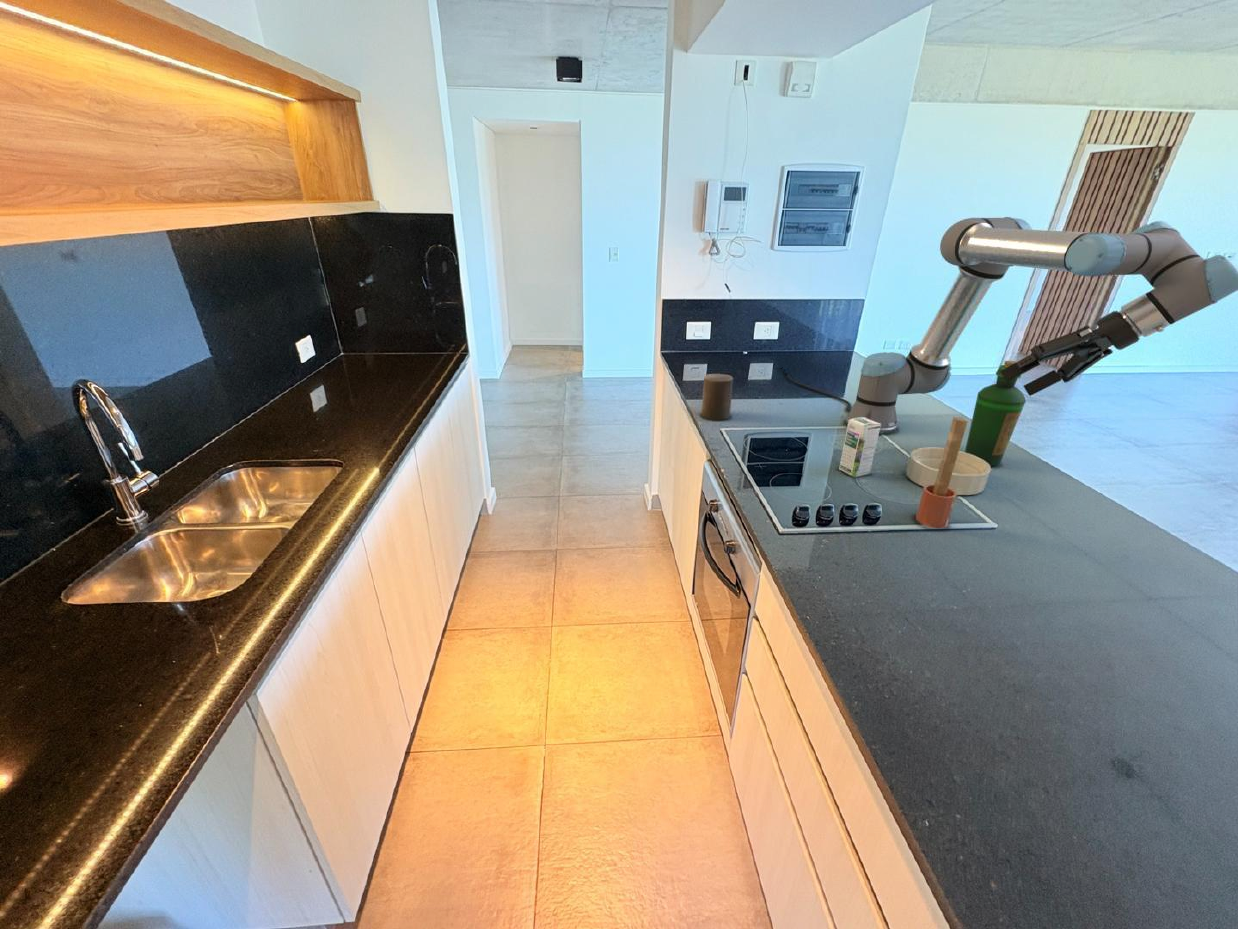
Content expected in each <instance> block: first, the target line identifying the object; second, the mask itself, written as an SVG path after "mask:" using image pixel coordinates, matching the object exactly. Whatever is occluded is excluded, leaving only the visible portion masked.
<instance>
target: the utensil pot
mask: <svg viewBox="0 0 1238 929" xmlns="http://www.w3.org/2000/svg"><path fill="white" fill-rule="evenodd" d="M933 489H934V484H931V485H926V486H924V487H923V488H922V491H921V494H920V498H919V503H918V506H917V509H916V514H915V520H916V521H917V522H918V523H919V524H921V525H923V526H925V527H928V528H932V529H945V528H946V527H947V526H948V525H949V523H950V520H951V519H950V518H951V515H952V512H953V509H954V505H955V502H956V498H957V497H958V495H956V492H955V491H954V490H952V489H950V488H948V490H947V493H946V496H945V497H944V496H938V495H934V494H932V492H933Z"/></svg>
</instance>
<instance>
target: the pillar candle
mask: <svg viewBox="0 0 1238 929" xmlns="http://www.w3.org/2000/svg"><path fill="white" fill-rule="evenodd" d="M733 383H734V377H733V376H732V375H729V374H723V373H709V374H706V375H704V376H703V387H702V388H703V389H702V403H701V413H700V415H701V416H702V418H704V419H705V420H710V421H718V422H719V421H720V422H721V421H725V420H728V419H730V417H731V408H732V406H731V405H732V395H733V386H734V384H733Z"/></svg>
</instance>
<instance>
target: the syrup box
mask: <svg viewBox="0 0 1238 929" xmlns="http://www.w3.org/2000/svg"><path fill="white" fill-rule="evenodd" d="M880 427H881V424H880V423H877V422H874V421H872V420H869V419H867V418H865V417H859V418H853V419H850V420H849V422H848V426H847V427H846V432H845V437H844V443H843V446H842V447H843V448H842V452H841V456H840V457H841V458H840V462H839V465H838V466H839V467H838V470H839V471H842V472H844V473H845V474H847V475H849V476H851V477H852V478H859V477H863V476H867V475H870V474H871V470H872V465H873V460H874V457H875V453H876V447H877V443H878V440H879V435H880V434H879V431H880Z"/></svg>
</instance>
